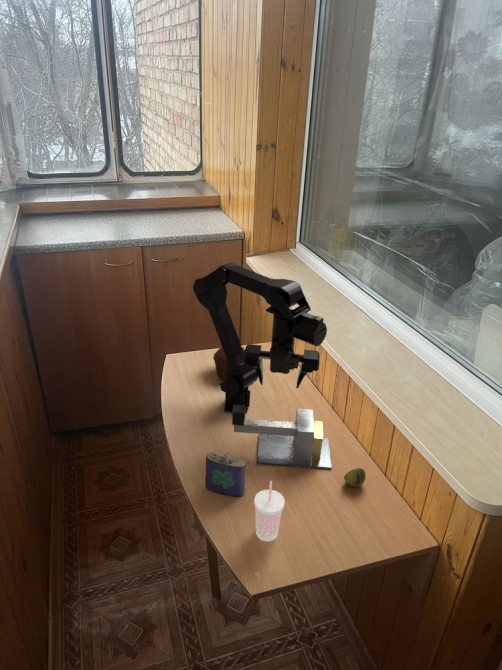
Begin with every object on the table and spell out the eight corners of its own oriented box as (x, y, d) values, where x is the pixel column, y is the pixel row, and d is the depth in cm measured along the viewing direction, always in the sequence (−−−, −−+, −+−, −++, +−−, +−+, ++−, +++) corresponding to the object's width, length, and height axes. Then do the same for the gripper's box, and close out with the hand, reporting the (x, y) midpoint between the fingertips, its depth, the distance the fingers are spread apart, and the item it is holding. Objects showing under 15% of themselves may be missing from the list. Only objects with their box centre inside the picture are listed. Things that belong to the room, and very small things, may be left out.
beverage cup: (267, 516, 110) (271, 466, 104) (287, 534, 106) (293, 483, 100) (246, 530, 106) (248, 479, 100) (266, 549, 102) (270, 498, 96)
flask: (245, 490, 117) (247, 454, 112) (242, 499, 114) (243, 462, 109) (207, 481, 119) (207, 445, 114) (203, 490, 116) (202, 453, 111)
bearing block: (257, 463, 125) (259, 431, 120) (259, 435, 134) (261, 403, 130) (331, 469, 124) (336, 436, 119) (327, 440, 134) (332, 408, 129)
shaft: (231, 432, 126) (232, 412, 123) (232, 425, 128) (233, 404, 125) (307, 438, 125) (309, 417, 122) (306, 430, 128) (308, 410, 125)
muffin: (248, 386, 155) (249, 357, 150) (211, 385, 155) (212, 356, 150) (249, 366, 165) (250, 339, 161) (214, 365, 165) (215, 337, 161)
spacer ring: (311, 459, 126) (314, 437, 123) (312, 442, 132) (314, 420, 129) (319, 460, 126) (322, 438, 123) (319, 443, 132) (322, 421, 129)
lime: (340, 485, 119) (343, 469, 117) (350, 474, 123) (353, 458, 120) (358, 494, 117) (361, 478, 115) (367, 483, 120) (370, 466, 118)
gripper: (241, 343, 119) (239, 399, 126) (322, 351, 117) (315, 407, 124) (247, 322, 128) (245, 375, 136) (322, 330, 127) (315, 383, 134)
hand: (279, 385), depth 132 cm, fingers open, 9 cm apart
